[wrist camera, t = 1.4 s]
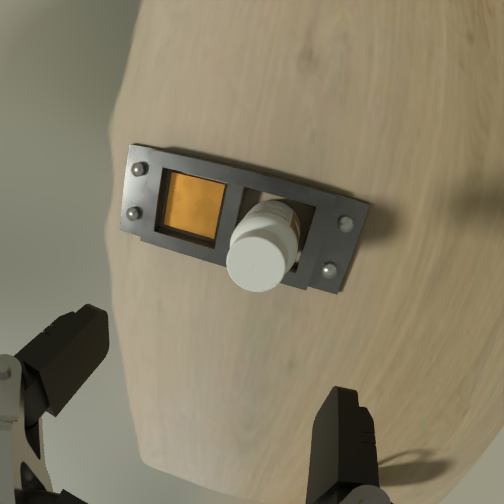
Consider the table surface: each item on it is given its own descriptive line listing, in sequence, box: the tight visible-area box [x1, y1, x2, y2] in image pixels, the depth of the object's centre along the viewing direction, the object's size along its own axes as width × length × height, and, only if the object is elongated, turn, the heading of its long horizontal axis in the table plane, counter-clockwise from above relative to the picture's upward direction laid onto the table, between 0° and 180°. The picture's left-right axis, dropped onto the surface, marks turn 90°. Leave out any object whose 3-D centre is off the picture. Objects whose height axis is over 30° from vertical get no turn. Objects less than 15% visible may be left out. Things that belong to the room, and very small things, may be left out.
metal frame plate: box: [120, 144, 370, 294], centre depth 24 cm, size 8×20×1 cm, turn 77°
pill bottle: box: [226, 200, 300, 292], centre depth 21 cm, size 4×4×8 cm
